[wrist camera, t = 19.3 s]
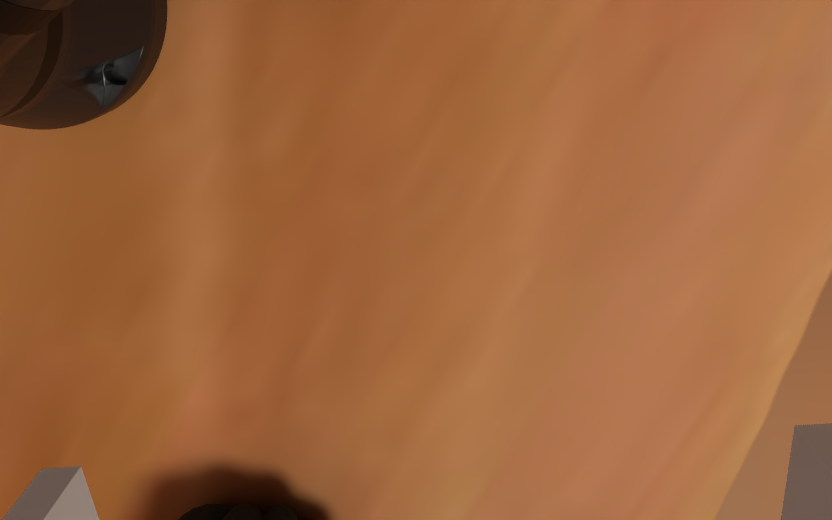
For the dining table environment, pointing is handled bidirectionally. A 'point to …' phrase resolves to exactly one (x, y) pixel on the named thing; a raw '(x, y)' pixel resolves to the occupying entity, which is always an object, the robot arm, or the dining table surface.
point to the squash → (239, 513)
